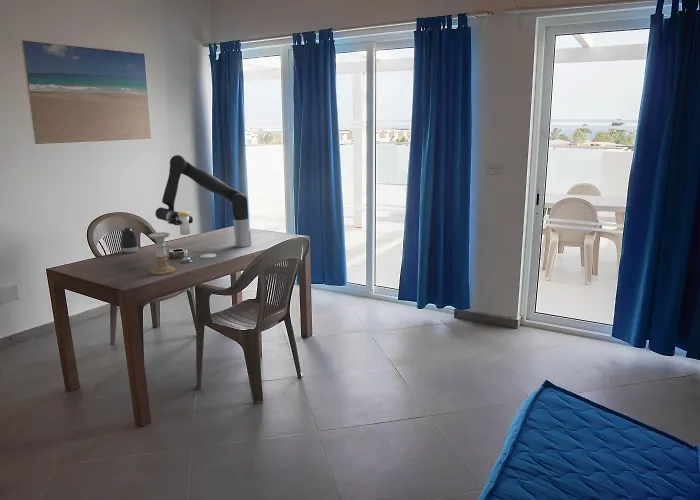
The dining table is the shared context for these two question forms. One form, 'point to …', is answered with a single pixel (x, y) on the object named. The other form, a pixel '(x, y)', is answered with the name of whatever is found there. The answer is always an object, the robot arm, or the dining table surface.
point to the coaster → (208, 255)
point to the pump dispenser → (128, 240)
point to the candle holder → (161, 255)
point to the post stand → (186, 260)
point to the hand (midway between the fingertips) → (186, 222)
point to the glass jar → (184, 223)
